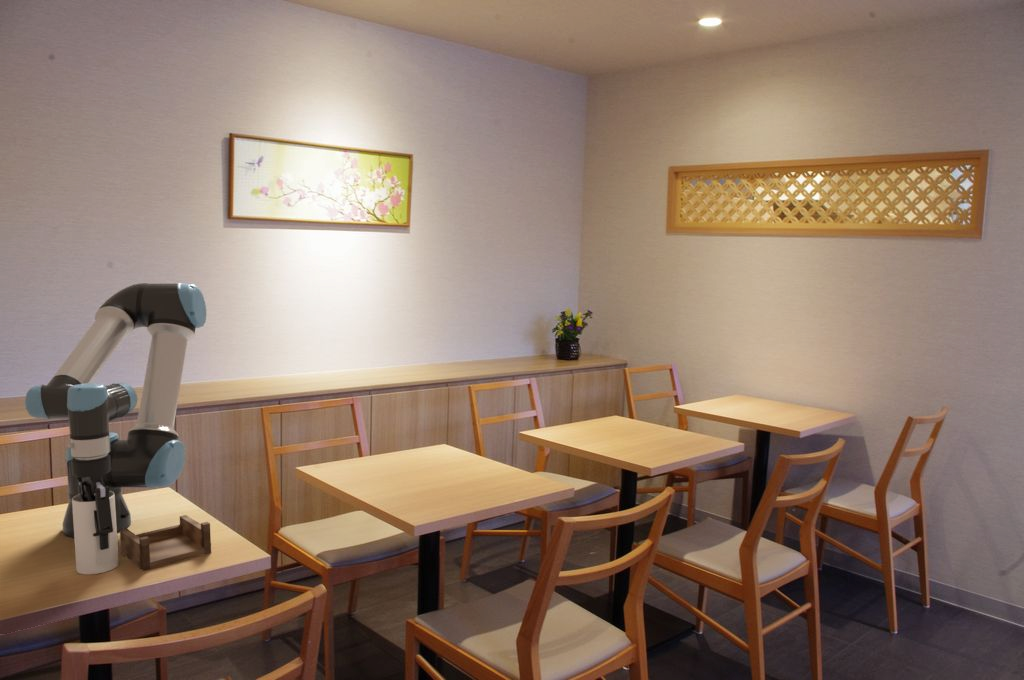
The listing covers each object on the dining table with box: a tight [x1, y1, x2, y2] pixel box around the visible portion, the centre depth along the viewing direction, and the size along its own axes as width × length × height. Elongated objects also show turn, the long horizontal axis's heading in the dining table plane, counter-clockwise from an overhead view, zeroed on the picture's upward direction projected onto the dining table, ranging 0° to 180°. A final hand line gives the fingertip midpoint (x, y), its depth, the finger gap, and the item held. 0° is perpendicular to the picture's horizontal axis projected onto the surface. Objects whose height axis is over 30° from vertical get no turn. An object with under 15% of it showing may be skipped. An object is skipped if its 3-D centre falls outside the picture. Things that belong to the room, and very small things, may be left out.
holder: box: [119, 514, 212, 572], centre depth 182 cm, size 14×15×7 cm
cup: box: [72, 491, 120, 575], centre depth 173 cm, size 8×8×16 cm
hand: (97, 556), depth 174 cm, fingers closed on cup, 8 cm apart
